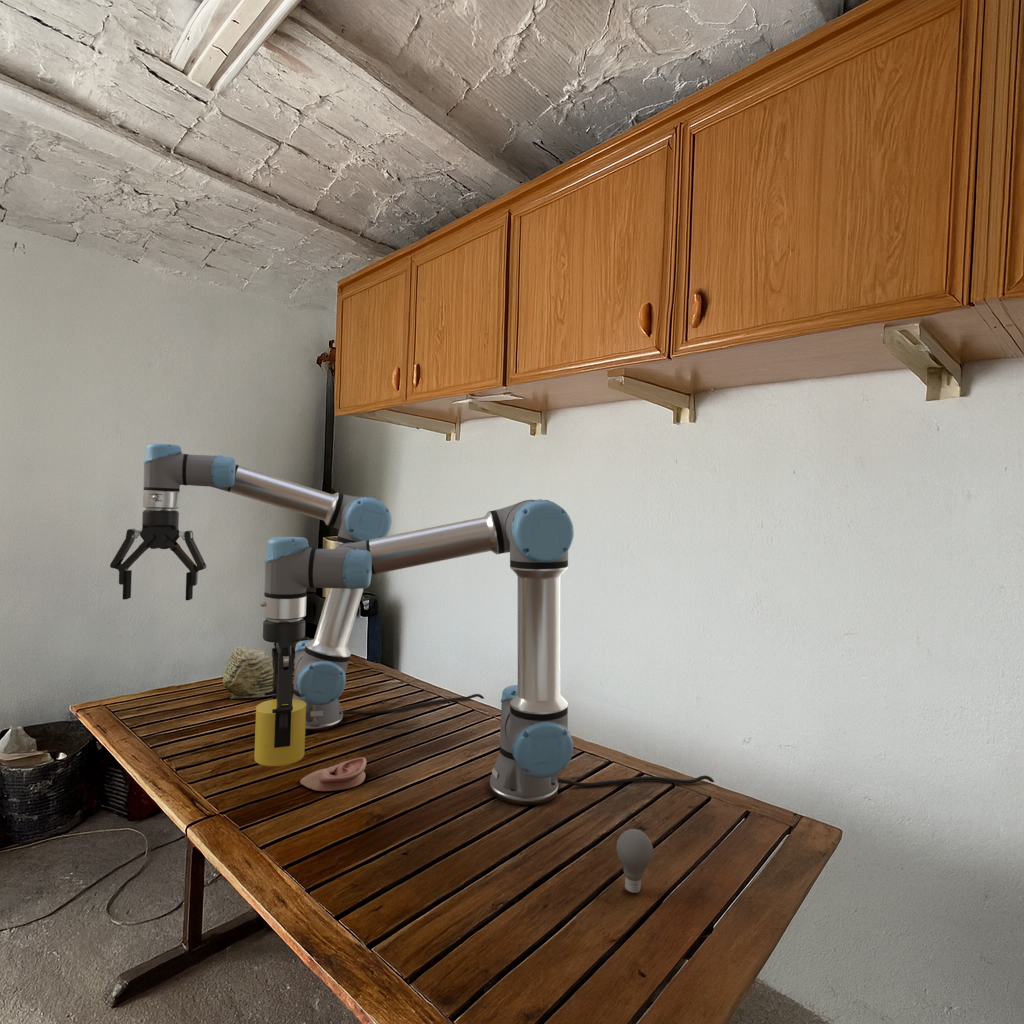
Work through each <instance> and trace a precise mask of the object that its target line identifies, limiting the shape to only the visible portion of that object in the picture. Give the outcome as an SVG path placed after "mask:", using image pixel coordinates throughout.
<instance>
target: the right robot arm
mask: <svg viewBox="0 0 1024 1024" xmlns="http://www.w3.org/2000/svg"><path fill="white" fill-rule="evenodd" d="M574 531H575V529H574V524H573V521H572V519H571V516H570V515H569V514H568V512H567V511H566V510H565V508H564V507H562V506H561V505H559V504H558V503H556V502H554V501H551V500H550V499H549V500H548V499H541V498H540V499H525V500H521V501H519V502H516V503H514V504H512V505H509V506H505V507H502V508H498V509H493V510H489V511H487V512H486V514H485V515H484V516H482V517H477V518H471V519H466V520H462V521H456V522H452V523H447V524H442V525H437V526H431V527H427V528H426V527H425V528H420V529H415V530H411V531H410V530H409V531H406V532H401V533H396V534H391V535H387V536H385V537H380V538H375V539H370V540H366V541H360V542H355V543H351V542H349V543H344V544H341V545H339V546H338V545H337V546H336V547H335V548H315V547H314V548H313V547H310V545H309V540H308V538H306V537H303V536H300V537H299V536H273V537H271V538H269V539H268V540H267V542H266V548H265V549H266V550H265V560H264V592H263V593H264V594H263V596H264V597H263V598H264V601H260V603H259V604H260V605H259V606H260V607H262V608H263V607H264V608H263V618H265V619H264V620H263V622H262V639H263V640H264V641H265V642H268V643H272V644H273V646H274V647H272V648H271V659H272V660H273V661H272V664H273V684H272V687H273V690H272V692H273V694H276V695H272V699H271V700H273V699H277V708H276V709H273V710H272V713H275V738H274V748H278V747H287V746H290V736H291V711H292V710H293V706H292V698H293V691H294V672H295V647H294V646H292V643H294V642H300V641H303V639H304V638H305V636H306V620H305V619H304V618H305V617H306V616H307V598H308V597H307V588H308V589H309V588H310V589H315V588H316V589H329V588H341V589H350V590H353V589H363V588H364V589H367V588H369V587H370V585H371V581H372V576H374V575H378V574H384V573H388V572H393V571H398V570H403V569H408V568H409V569H410V568H413V567H418V566H423V565H429V564H433V563H437V562H443V561H449V560H454V559H457V558H463V557H469V556H473V555H479V554H483V553H487V552H488V553H489V552H492V553H494V554H495V555H501V554H506V553H507V554H508V553H509V568H510V570H511V571H512V572H513V573H515V574H516V576H517V684H514V685H509V686H506V687H504V688H503V690H502V692H501V698H500V703H501V705H500V706H501V707H500V726H499V727H500V728H499V729H500V732H499V751H498V752H499V753H498V756H497V759H496V761H495V764H494V766H493V767H492V770H491V775H490V779H489V791H490V793H491V795H493V796H494V797H495V798H496V799H498V800H499V801H502V802H505V803H509V804H512V805H519V806H538V805H542V804H543V805H544V804H546V803H549V802H551V801H553V800H554V799H555V798H557V796H558V795H559V794H558V793H559V783H561V784H567V785H571V786H574V787H582V788H583V787H584V788H591V787H592V788H593V787H602V786H608V785H616V784H624V783H632V782H639V781H658V782H668V783H675V784H686V785H687V784H689V785H690V784H695V783H698V782H701V781H704V780H707V781H709V782H710V783H715V780H714V779H713V778H712V777H711V776H709V775H700V776H698V777H694V778H691V779H680V778H679V779H678V778H671V777H664V776H651V775H647V776H645V775H644V776H634V777H633V776H632V777H628V778H620V779H619V778H618V779H612V780H604V781H596V782H578V781H573V780H570V779H565V778H560V777H557V775H559V774H560V773H561V772H562V771H563V770H564V769H565V768H566V767H567V766H568V765H569V764H570V762H571V760H572V758H573V753H574V742H573V737H572V735H571V734H572V733H570V731H569V703H568V700H567V699H566V698H565V697H564V696H562V694H561V576H562V575H563V574H564V573H565V572H566V571H567V570H568V569H569V550H570V548H571V546H572V544H573V540H574V536H575V535H574V534H575V533H574ZM364 589H363V590H364ZM283 704H288V705H283ZM694 779H695V780H694Z"/></svg>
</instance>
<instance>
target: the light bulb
mask: <svg viewBox="0 0 1024 1024" xmlns="http://www.w3.org/2000/svg"><path fill="white" fill-rule="evenodd" d="M615 849H616V854H617V857H618V859H619V861H620V863H621V865H622V867H623V873H624V874H623V875H624V876H625V878H624V888H625V890H627V891H628V892H630V893H634V894H635V893H639V892H640V891H641V889H642V887H641V886H642V879H643V877H644V875H645V871H646V868H647V867H648V866H649V864H650V863H651V861H652V859H653V855H654V847H653V843H652V841H651V838H649V836H648V835H647V834H646V833H645V832H643V831H642V830H641V829H636V828H629V829H627V830H625V831H623V832H622V833H621V834H620V835H619V837H618V839H617V841H616V847H615Z"/></svg>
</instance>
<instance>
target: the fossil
mask: <svg viewBox="0 0 1024 1024" xmlns="http://www.w3.org/2000/svg"><path fill="white" fill-rule="evenodd" d="M272 661H273V658H272V657H270V656H269V655H268V654H267V653H266V652H265V650H264V649H263V648H260V647H258V648H251V647H247V646H246V647H245V646H238V647H237V648H236V649H235V650H233V651H232V653H231V656H230V657H229V659H228V660H227V663H226V666H225V668H224V671H223V675H222V676H223V677H222V685H223V687H224V688H225V690H226V691H228V693H229V698H230V699H250V698H264V697H273V695H276V694H273V692H272V690H273V687H272V684H273V664H272Z"/></svg>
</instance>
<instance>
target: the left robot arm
mask: <svg viewBox="0 0 1024 1024" xmlns="http://www.w3.org/2000/svg"><path fill="white" fill-rule="evenodd" d="M144 453H145V454H144V461H143V490H142V492H143V493H142V494H143V495H142V496H143V497H142V507H143V508H145V509H144V510H143V511H142V517H141V518H142V520H141V530H140V529H136V528H129V529H127V530H126V532H125V538H124V540H123V542H122V544H121V545H120V547H119V548H118V551H117V553H116V554H115V556H114V557H113V559H112V561H111V563H110V564H109V567H110V568H111V569H115V570H117V571H118V584H119V585H120V586H122V600H129V599H131V598H132V573H133V571H132V569H129V568H131V566H132V565H133V564H135V562H136V561H137V560H138V559H140V557H141V556H142V555H143V554H145V552H146V551H147V550H148V549H151V550H156V549H159V550H168V549H169V550H170V551H171V552H173V554H175V555H176V557H177V558H178V559H179V560H180V561H181V563H182V564H183V565H184V566H185V567H186V568H187V570H188V571H187V572H186V575H185V601H190V600H193V596H194V595H193V594H194V593H193V592H194V587H196V586H197V584H198V577H199V576H198V575H199V572H200V571H203V570H205V569H206V568H207V564H206V562H205V560H204V558H203V556H202V553H201V552H200V550H199V548H198V545H197V544H196V542H195V540H194V532H193V530H186V531H180V529H179V525H180V512H179V511H178V510H177V509H179V508H180V491H181V489H180V488H181V486H192V487H193V486H194V487H210V488H214V489H216V490H217V489H218V490H221V491H224V492H226V493H227V492H228V493H230V494H231V493H232V494H235V495H238V496H241V497H244V498H248V499H251V500H254V501H258V502H260V503H264V504H268V505H271V506H275V507H278V508H281V509H285V510H288V511H290V512H294V513H298V514H301V515H303V516H304V515H305V516H308V517H311V518H314V519H318V520H321V521H323V522H324V523H325V525H326V526H328V527H332V528H334V529H337V530H339V531H338V534H337V538H336V541H335V543H336V545H337V547H338V546H339V545H341V544H344V543H349V542H351V543H355V542H360V541H366V540H370V539H375V538H380V537H385V536H388V534H389V533H390V531H391V528H392V524H393V523H392V521H393V520H392V514H391V512H390V509H389V508H388V506H387V505H386V504H385V503H384V502H383V501H381V500H380V499H378V498H376V497H371V496H354V495H349V494H344V493H341V492H335V493H329V492H326V491H323V490H319V489H317V488H313V487H310V486H306V485H303V484H301V483H297V482H294V481H290V480H287V479H285V478H281V477H278V476H274V475H271V474H269V473H265V472H262V471H259V470H255V469H252V468H249V467H246V466H243V465H239V464H236V460H235V459H234V457H232V456H224V455H210V454H208V455H207V454H188V453H183V451H182V447H181V446H180V445H177V444H170V443H169V444H168V443H149V444H147V445H146V447H145V451H144ZM139 537H140V538H141V539H142V540H143V541H142V542H141V543H140V544H139V545H138V547H137V548H136V549H135V550H134V551H133V552H132V553H131V554H130V555H129V556H128V557H127V558H126V556H127V554H128V552H129V551H130V549H131V547H132V546H133V545H134V543H135V540H136V539H138V538H139ZM179 538H181V539H182V541H184V542H185V545H186V546H187V549H188V551H189V553H190V555H191V557H192V559H193V560H192V559H191V558H190V556H189V555H188V554H187V553H186V551H184V550H183V549H182V547H181V544H179V543H178V540H179ZM125 558H126V559H125ZM124 559H125V560H124ZM364 589H365V588H363V589H353V590H350V589H341V588H327V593H326V596H325V600H324V603H323V606H322V610H321V614H320V617H319V620H318V624H317V627H316V630H315V634H314V638H313V639H307V640H300V641H297V643H295V647H294V650H295V659H294V672H293V695H292V698H293V699H299V700H302V701H304V702H305V703H306V724H305V733H316V732H325V731H329V730H332V729H335V728H337V727H339V726H340V725H342V723H343V722H344V715H377V714H387V713H394V712H401V711H405V710H409V709H413V708H418V707H423V706H427V705H433V704H439V703H446V702H454V701H465V700H470V699H473V698H480V699H482V700H484V699H485V697H484V696H483V695H482V694H481V693H473V694H471V695H468V696H460V697H450V698H449V697H448V698H442V699H433V700H430V701H424V702H420V703H414V704H411V705H406V706H402V707H396V708H388V709H381V710H380V709H379V710H343V709H342V706H341V702H340V699H339V698H340V696H341V695H342V694H343V692H344V690H345V687H346V684H347V676H346V672H347V669H348V667H349V666H348V665H349V662H350V658H351V655H352V654H351V651H350V649H349V647H348V645H349V642H350V641H349V640H350V639H351V638H350V637H351V634H352V631H353V627H354V623H355V620H356V617H357V613H358V609H359V607H360V602H361V599H362V595H363V592H364Z"/></svg>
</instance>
